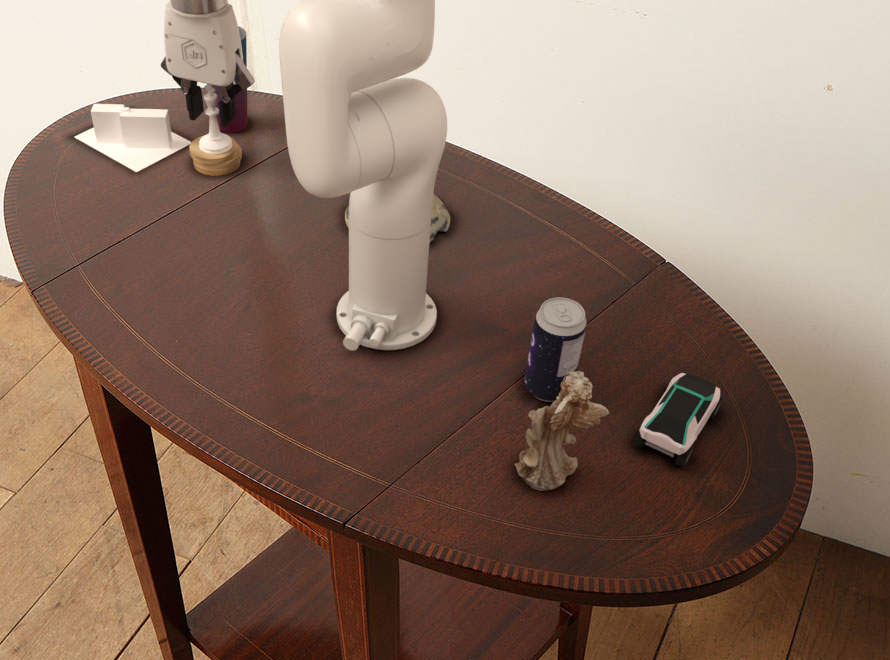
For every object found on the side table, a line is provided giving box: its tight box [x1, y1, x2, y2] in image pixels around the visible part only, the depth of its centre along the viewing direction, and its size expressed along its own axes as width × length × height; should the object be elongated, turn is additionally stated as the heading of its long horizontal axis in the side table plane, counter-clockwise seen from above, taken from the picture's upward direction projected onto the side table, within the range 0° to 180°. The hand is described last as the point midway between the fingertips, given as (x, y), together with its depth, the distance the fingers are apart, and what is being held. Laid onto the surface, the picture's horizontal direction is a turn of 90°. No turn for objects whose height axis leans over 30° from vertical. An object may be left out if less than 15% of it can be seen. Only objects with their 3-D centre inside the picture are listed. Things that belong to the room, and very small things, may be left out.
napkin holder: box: [74, 103, 192, 173], centre depth 151 cm, size 15×11×6 cm
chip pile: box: [188, 134, 243, 177], centre depth 148 cm, size 8×7×3 cm
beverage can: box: [523, 296, 588, 403], centre depth 112 cm, size 6×6×12 cm
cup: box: [212, 25, 249, 134], centre depth 152 cm, size 7×7×15 cm
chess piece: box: [199, 84, 233, 154], centre depth 143 cm, size 5×5×10 cm
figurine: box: [513, 370, 610, 492], centre depth 101 cm, size 7×6×15 cm
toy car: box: [633, 372, 724, 468], centre depth 110 cm, size 6×12×5 cm, turn 146°
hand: (212, 118), depth 143 cm, fingers open, 4 cm apart
